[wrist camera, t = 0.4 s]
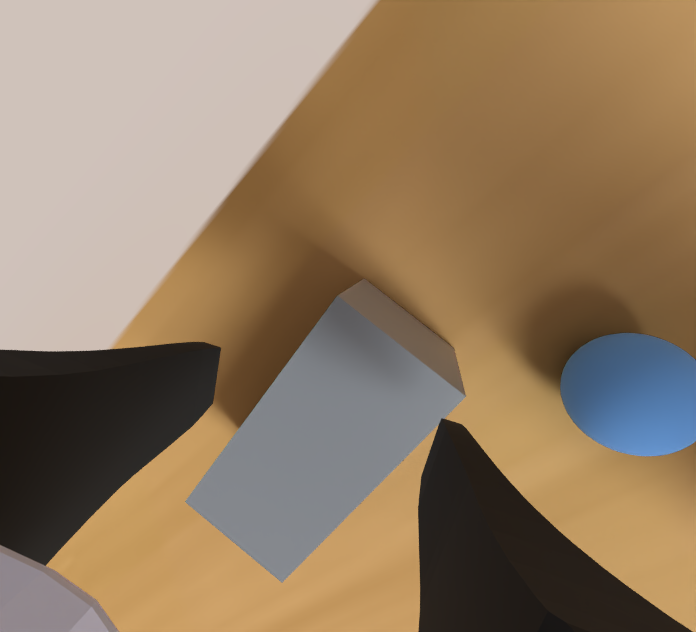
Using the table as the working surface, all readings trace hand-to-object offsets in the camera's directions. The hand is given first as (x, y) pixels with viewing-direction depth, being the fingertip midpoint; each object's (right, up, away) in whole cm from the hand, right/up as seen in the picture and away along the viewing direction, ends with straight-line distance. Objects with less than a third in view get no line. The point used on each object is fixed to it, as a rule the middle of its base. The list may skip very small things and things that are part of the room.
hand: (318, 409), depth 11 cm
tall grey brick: (0, -2, +10) cm, 10 cm away
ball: (+13, 0, +4) cm, 13 cm away
